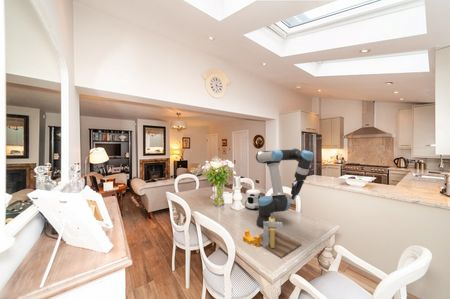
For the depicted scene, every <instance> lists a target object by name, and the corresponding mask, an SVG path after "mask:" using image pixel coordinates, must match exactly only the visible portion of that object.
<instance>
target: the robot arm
mask: <svg viewBox="0 0 450 299" xmlns="http://www.w3.org/2000/svg"><path fill="white" fill-rule="evenodd" d="M313 160H314V152H312V151H309V150H300V149H299V148H296V147H291V148H290V149H274V150H261V151H258V152H257V153H256V154H255V161H256V162H257V163H260V164H266V167H268V170H269V175H270V182H271V188H272V196H270V195H263V196H261V197H260V198H259V202H258V209H257V210H258V215H257V219H256V220H255V221H256V226H257V227H258V228H261V229H263V221H269V217H270V214H271V213H273V214H274V213H279V212H285V211H289V209H290V208H291V207H290V206H291V204H293V205H294V204H295V203H296V200H297V196H298V197H299V195H300V192H301V190H302V187H303V185H304V183H305V181H306V180H307V177H308V175H309V172H310V168H311V165H312V162H313ZM282 161H296V162H298V163H297V165H296V169H295V173H294V178H295V180H294V182H292V183H291V189H290V190H291V191H290V195H291V197H290V199H289V197H288V196H287V194H285V193H284V189H283V184H282V183H283V182H282V179H281V178H282V177H281V174H280V167H279V166H280V164H281V162H282ZM268 230H269V226H268Z"/></svg>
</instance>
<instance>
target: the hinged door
mask: <svg viewBox="0 0 450 299" xmlns="http://www.w3.org/2000/svg"><path fill="white" fill-rule="evenodd" d="M269 221H272V222H276V217H274V212H273V213H271V214H270V217H269ZM268 231H269V234H270V247H271V248H275V231H276V227H272V226H269V229H268Z"/></svg>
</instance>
